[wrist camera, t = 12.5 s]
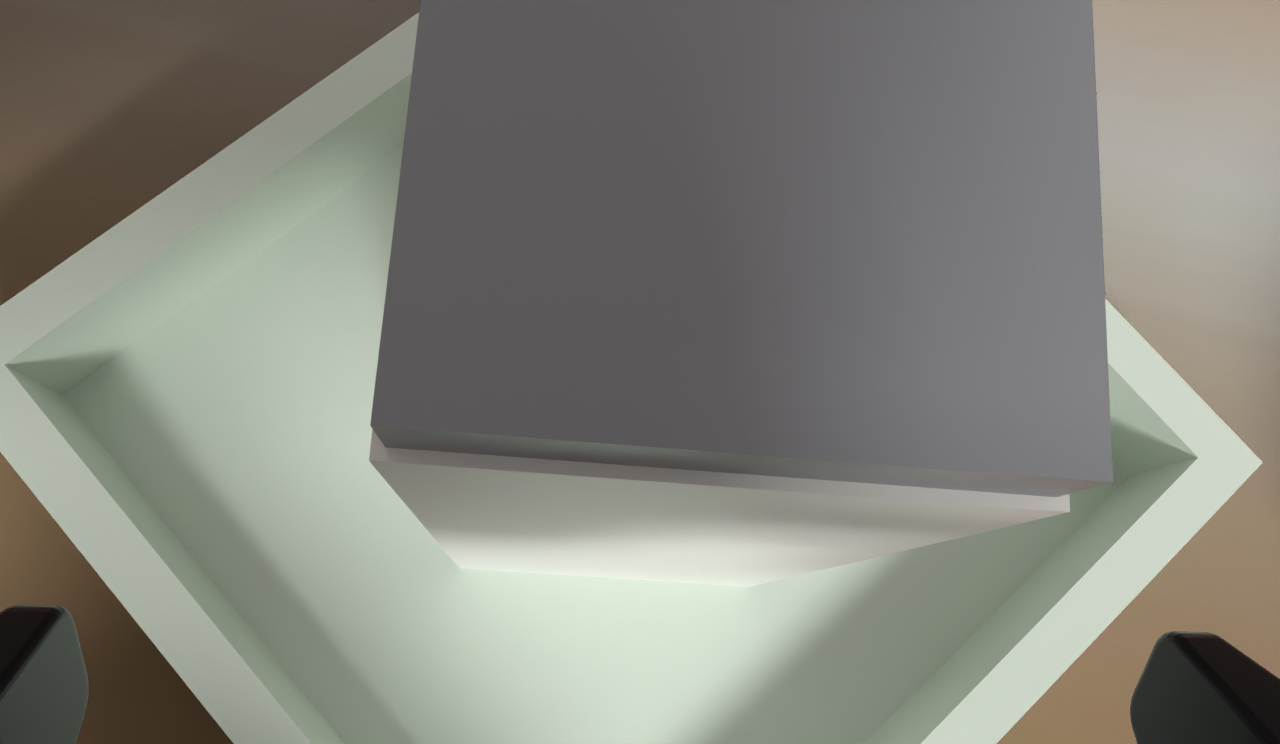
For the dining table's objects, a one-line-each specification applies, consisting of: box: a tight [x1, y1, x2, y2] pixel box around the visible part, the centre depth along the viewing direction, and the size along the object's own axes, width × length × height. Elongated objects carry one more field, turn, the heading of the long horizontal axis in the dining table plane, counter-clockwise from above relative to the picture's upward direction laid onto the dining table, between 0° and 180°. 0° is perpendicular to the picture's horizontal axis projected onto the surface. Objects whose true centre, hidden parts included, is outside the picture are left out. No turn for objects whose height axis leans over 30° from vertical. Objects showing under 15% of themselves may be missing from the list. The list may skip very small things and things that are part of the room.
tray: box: [0, 12, 1263, 744], centre depth 19 cm, size 15×15×3 cm
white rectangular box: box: [369, 0, 1113, 587], centre depth 14 cm, size 5×5×12 cm
